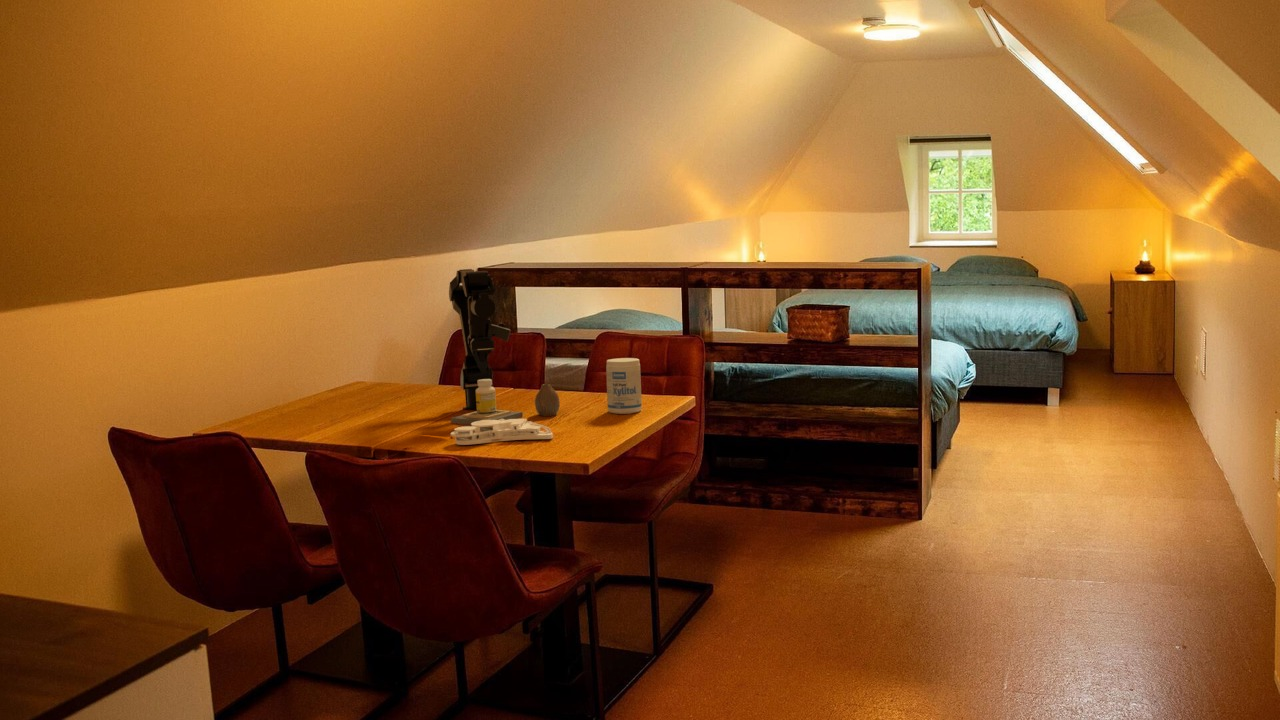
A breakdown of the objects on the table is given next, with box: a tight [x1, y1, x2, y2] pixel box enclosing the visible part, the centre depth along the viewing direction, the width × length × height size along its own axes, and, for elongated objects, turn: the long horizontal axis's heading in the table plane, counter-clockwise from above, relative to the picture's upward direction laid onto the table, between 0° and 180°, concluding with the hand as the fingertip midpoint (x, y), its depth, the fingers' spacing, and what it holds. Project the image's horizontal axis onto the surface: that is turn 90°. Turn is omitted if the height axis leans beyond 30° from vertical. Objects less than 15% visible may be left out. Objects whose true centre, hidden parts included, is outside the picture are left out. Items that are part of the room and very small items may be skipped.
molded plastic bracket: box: [450, 418, 554, 446], centre depth 286 cm, size 23×25×4 cm
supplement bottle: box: [476, 379, 498, 416], centre depth 307 cm, size 5×5×10 cm
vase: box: [534, 383, 561, 417], centre depth 311 cm, size 7×7×9 cm
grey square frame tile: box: [450, 409, 524, 426], centre depth 308 cm, size 14×14×2 cm
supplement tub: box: [605, 357, 643, 415], centre depth 310 cm, size 10×10×15 cm
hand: (482, 371), depth 312 cm, fingers open, 9 cm apart
